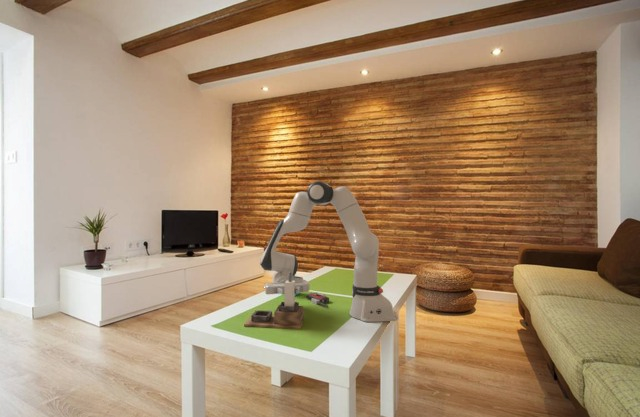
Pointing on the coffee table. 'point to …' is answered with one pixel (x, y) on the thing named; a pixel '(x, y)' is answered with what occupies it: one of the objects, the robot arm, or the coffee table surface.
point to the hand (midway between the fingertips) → (290, 292)
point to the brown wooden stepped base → (278, 317)
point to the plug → (289, 292)
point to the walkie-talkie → (318, 298)
